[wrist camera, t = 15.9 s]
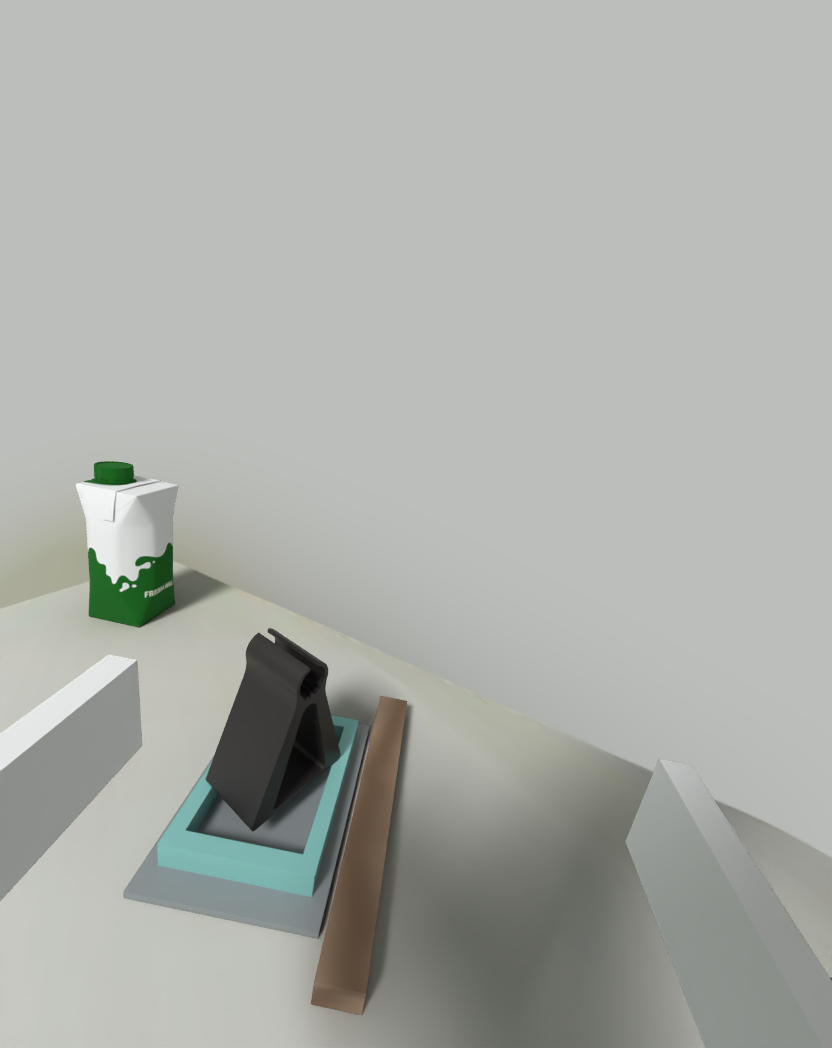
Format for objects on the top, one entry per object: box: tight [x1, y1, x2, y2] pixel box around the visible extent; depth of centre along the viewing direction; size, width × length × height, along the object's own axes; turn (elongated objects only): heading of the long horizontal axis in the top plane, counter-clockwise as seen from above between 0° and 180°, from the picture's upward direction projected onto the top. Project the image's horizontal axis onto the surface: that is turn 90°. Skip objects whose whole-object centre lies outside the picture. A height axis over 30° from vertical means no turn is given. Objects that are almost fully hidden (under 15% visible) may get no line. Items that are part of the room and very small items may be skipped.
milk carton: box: [76, 462, 178, 627], centre depth 55 cm, size 9×9×20 cm
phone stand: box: [206, 628, 341, 831], centre depth 33 cm, size 9×6×12 cm, turn 145°
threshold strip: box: [311, 696, 407, 1015], centre depth 35 cm, size 3×24×2 cm, turn 176°
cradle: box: [124, 715, 370, 938], centre depth 35 cm, size 13×18×3 cm
